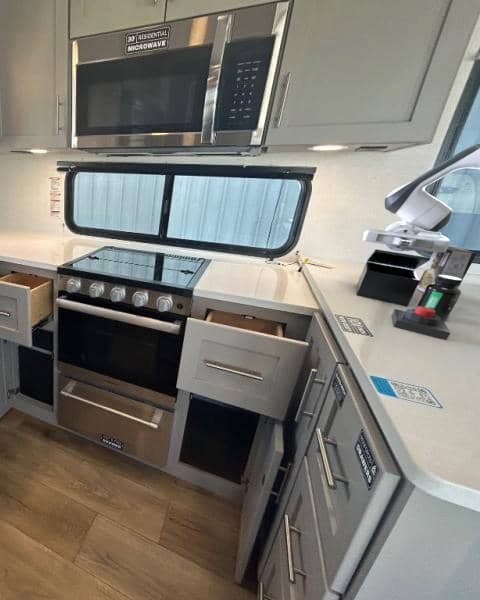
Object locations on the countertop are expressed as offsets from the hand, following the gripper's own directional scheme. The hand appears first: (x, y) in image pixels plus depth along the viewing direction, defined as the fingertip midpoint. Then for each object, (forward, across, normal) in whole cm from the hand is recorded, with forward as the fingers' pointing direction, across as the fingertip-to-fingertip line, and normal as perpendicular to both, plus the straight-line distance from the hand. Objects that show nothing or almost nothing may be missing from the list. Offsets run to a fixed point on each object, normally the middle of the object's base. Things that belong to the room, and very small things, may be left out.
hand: (405, 243), depth 101 cm
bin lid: (-4, 0, +6) cm, 7 cm away
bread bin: (-4, 0, +18) cm, 19 cm away
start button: (+22, +7, +15) cm, 27 cm away
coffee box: (-22, +15, +18) cm, 32 cm away
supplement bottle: (+8, +11, +18) cm, 23 cm away
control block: (+22, +7, +18) cm, 29 cm away
